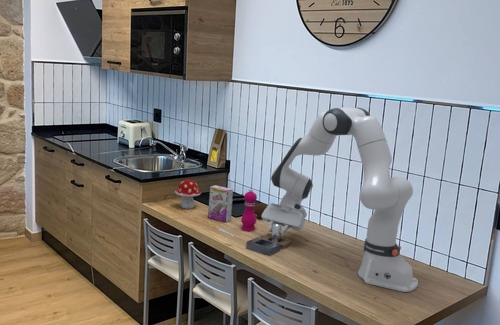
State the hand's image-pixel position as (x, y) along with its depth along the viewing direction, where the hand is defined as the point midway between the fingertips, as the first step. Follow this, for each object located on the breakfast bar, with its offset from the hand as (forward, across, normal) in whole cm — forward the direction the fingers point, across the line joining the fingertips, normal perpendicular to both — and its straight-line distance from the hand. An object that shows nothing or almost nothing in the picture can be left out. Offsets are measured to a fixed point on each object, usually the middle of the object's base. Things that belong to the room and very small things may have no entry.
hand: (275, 232), depth 225 cm
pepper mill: (-2, -20, +10) cm, 22 cm away
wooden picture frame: (+3, 0, +4) cm, 5 cm away
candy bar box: (-3, -39, +11) cm, 41 cm away
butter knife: (+7, -19, +1) cm, 20 cm away
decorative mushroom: (-6, -64, +14) cm, 66 cm away
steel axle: (+3, 0, +4) cm, 5 cm away
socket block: (+10, 0, -3) cm, 11 cm away
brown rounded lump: (-16, -26, +24) cm, 39 cm away
